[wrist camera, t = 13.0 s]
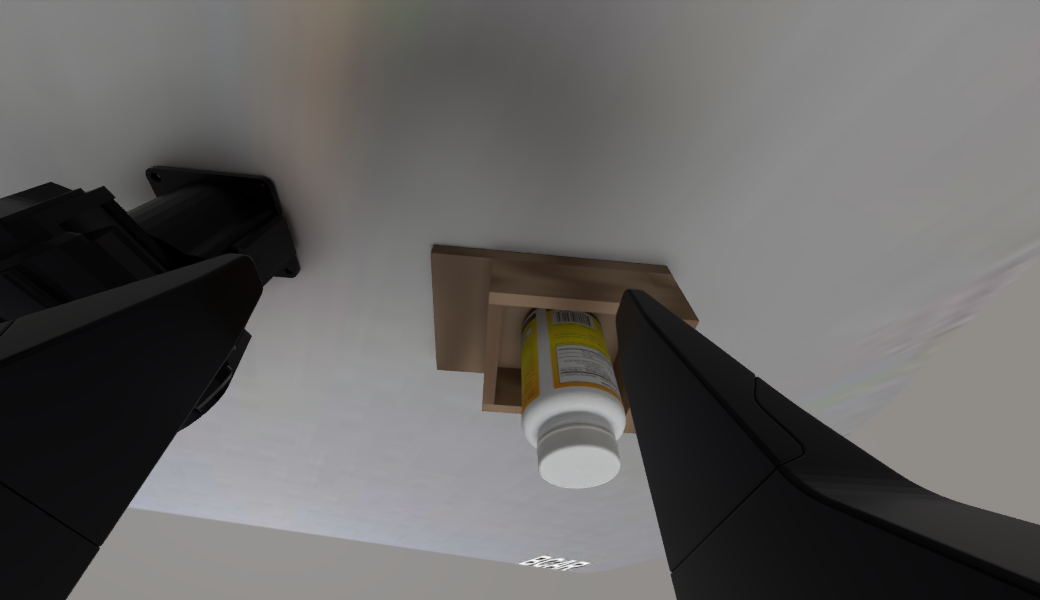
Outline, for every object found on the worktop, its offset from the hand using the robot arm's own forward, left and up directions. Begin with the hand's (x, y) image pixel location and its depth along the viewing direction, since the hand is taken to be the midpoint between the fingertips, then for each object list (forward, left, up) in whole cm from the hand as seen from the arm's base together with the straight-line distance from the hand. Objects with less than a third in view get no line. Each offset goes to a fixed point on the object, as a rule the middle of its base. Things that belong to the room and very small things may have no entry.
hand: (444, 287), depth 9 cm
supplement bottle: (+6, -11, -12) cm, 18 cm away
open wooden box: (+5, -11, -13) cm, 18 cm away
